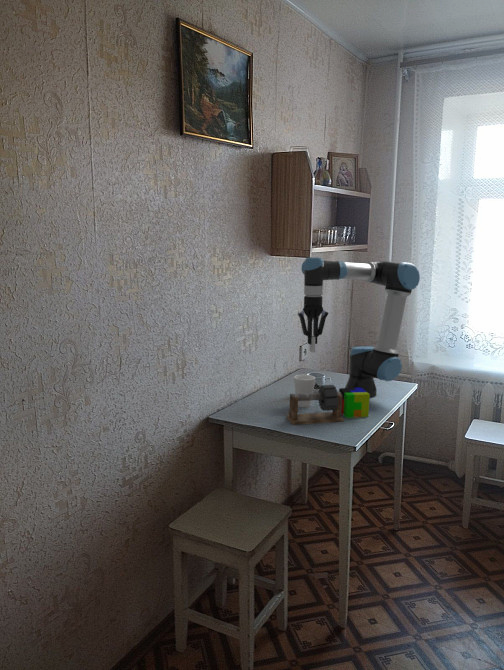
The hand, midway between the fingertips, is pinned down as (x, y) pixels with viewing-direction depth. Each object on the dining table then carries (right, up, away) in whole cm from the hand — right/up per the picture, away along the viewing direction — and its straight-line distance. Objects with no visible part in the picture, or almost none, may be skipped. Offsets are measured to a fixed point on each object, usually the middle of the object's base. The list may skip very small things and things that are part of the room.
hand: (312, 351), depth 228 cm
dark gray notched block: (+6, -19, -2) cm, 20 cm away
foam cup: (-2, -25, +18) cm, 31 cm away
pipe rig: (+1, -28, -1) cm, 28 cm away
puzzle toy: (+19, -27, +8) cm, 34 cm away
